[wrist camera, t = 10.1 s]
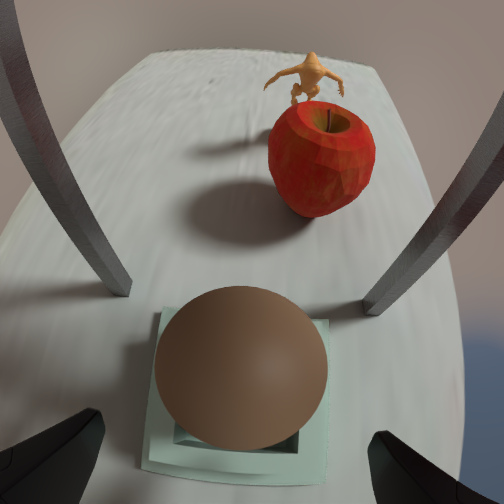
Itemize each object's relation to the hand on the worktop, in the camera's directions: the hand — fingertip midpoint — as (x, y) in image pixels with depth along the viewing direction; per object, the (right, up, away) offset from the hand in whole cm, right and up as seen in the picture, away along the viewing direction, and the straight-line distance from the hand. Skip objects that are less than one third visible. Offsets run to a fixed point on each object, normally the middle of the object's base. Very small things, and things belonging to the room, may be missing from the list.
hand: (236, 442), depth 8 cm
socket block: (0, -4, +11) cm, 11 cm away
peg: (0, -4, +10) cm, 10 cm away
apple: (+6, +10, +20) cm, 23 cm away
